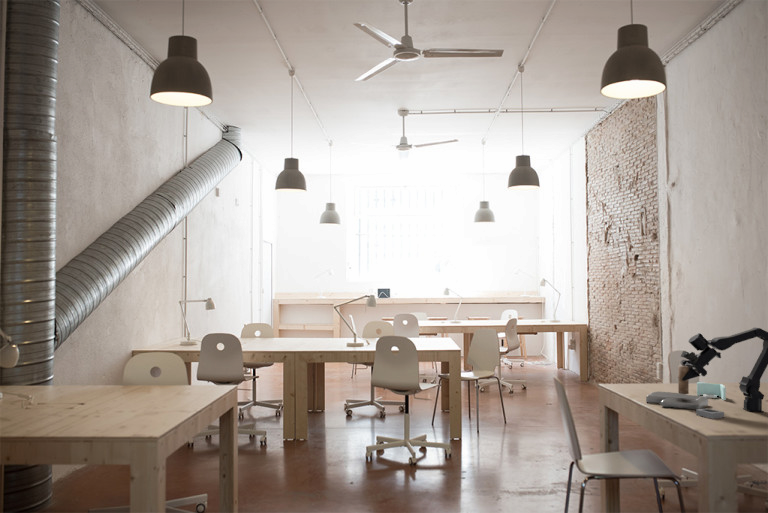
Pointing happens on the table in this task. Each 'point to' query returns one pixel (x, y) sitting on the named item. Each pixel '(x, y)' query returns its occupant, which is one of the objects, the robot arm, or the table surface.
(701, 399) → the emblem
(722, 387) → the l-shaped corner panel
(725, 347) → the robot arm
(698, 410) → the socket block
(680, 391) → the walnut dowel
